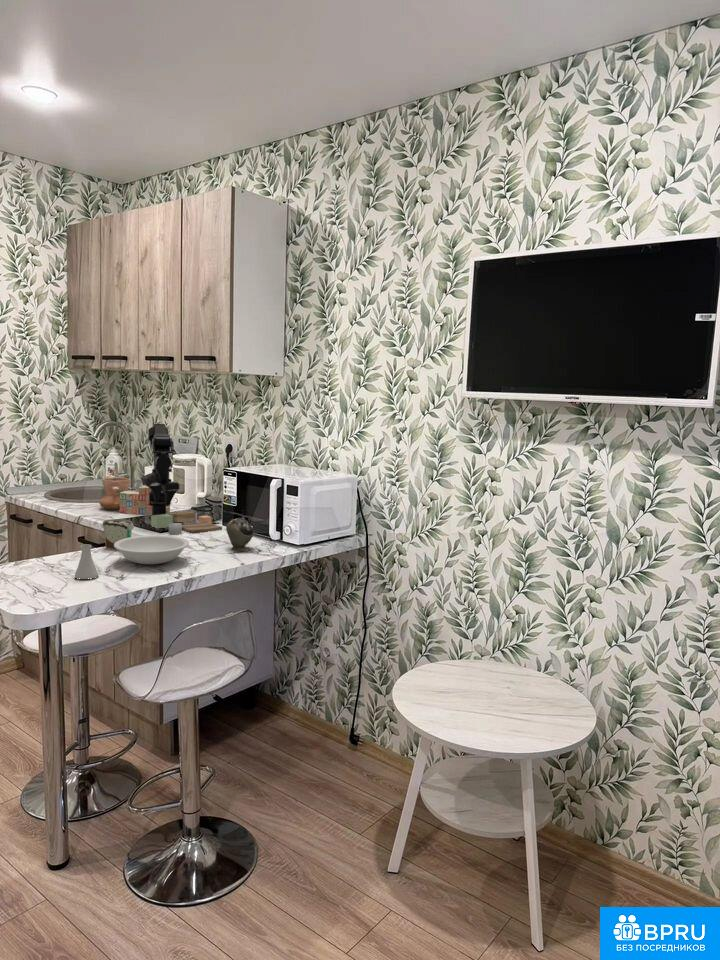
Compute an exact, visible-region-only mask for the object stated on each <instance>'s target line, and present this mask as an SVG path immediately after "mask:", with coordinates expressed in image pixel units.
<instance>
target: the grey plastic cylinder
mask: <svg viewBox="0 0 720 960" xmlns="http://www.w3.org/2000/svg"><path fill="white" fill-rule="evenodd" d="M182 525H183V523H169V528H168V535H169V536H179V534H180V535H182V533H183V530H182Z"/></svg>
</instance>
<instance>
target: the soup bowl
mask: <svg viewBox="0 0 720 960" xmlns="http://www.w3.org/2000/svg"><path fill="white" fill-rule="evenodd" d="M189 545H190V541H189V540H188V539H186V538H183V537H180V536H176V535H163V534H161V535H160V534H155V535H154V534H153V535H137V536H136V535H135V536H131V537H130V538H125V539H122V540H119V541H117V542H115V544H114V547H115V548H116V549H118V550H120V551H119V552H120V554H121V555H122V556H123V557H124V558H126V560H129V561H130V562H132V563H136V564H140V565H160V564H164V563H168V562H171V561H173V560H175V559H176V558H177V557H179V555H180V554H182V552H183V550H184V549H185V548H187V547H188V546H189ZM118 550H117V551H118Z"/></svg>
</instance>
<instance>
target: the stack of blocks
mask: <svg viewBox="0 0 720 960" xmlns="http://www.w3.org/2000/svg"><path fill="white" fill-rule="evenodd" d="M149 492H151V489H150V488H149V487H147V486H146V485H142V486H139V487H138V491H131V490H127V491H124V492H121V493H119V500H120V501H119V506H120V510H119V513H120V514H130V515H131V514H132V515H142V516H144V515H147V516H152V506H149ZM166 514H169V515H171V505H169V506H166Z"/></svg>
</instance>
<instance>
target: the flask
mask: <svg viewBox="0 0 720 960" xmlns="http://www.w3.org/2000/svg"><path fill="white" fill-rule="evenodd" d="M80 549H81V555H80V559H79V562H78V565H77V567H76V570H75V573H74V576H75V578H78V579H77V580H79V578H80V579H88V578H89V579H90V578H95V577H97V576H99V573H98V570H97V568H96V566H95V563H94V559H93V557H92V551H91V549H92V544H87V543H86V544H82V545H81V544H80ZM97 578H98V577H97ZM95 579H96V578H95ZM90 580H91V579H90Z"/></svg>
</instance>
